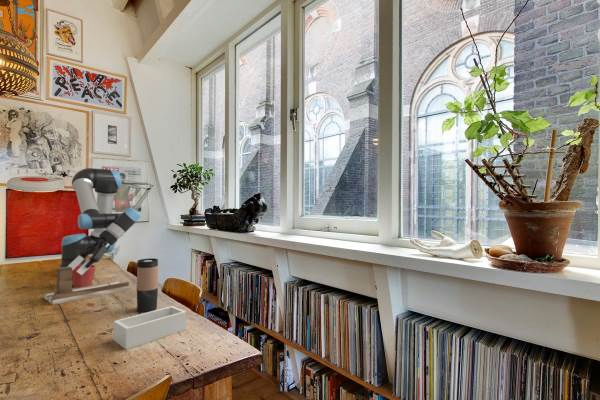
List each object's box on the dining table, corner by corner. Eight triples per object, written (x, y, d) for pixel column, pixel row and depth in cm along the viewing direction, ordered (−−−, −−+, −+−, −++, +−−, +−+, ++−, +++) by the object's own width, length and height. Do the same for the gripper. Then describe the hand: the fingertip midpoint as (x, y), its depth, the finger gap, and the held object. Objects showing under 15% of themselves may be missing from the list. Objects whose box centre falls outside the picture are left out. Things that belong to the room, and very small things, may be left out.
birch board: (44, 298, 140) (44, 289, 140) (117, 285, 163) (117, 277, 163) (52, 305, 131) (52, 295, 131) (128, 290, 154) (128, 282, 154)
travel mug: (161, 306, 130) (161, 258, 130) (150, 313, 122) (151, 262, 123) (143, 306, 131) (144, 258, 131) (132, 312, 123) (132, 261, 123)
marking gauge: (53, 295, 138) (53, 267, 138) (69, 292, 143) (70, 265, 143) (57, 298, 134) (58, 270, 134) (74, 295, 138) (74, 267, 139)
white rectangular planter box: (113, 340, 99) (113, 321, 99) (172, 322, 114) (172, 305, 114) (126, 349, 93) (126, 329, 93) (186, 329, 108) (186, 311, 108)
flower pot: (85, 288, 156) (86, 269, 156) (64, 288, 156) (64, 268, 157) (99, 283, 167) (100, 264, 167) (79, 282, 167) (79, 264, 167)
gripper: (128, 242, 146) (90, 280, 134) (108, 237, 162) (73, 271, 151) (115, 231, 142) (75, 270, 130) (96, 227, 158) (59, 261, 147)
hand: (74, 270), depth 140 cm, fingers open, 13 cm apart
